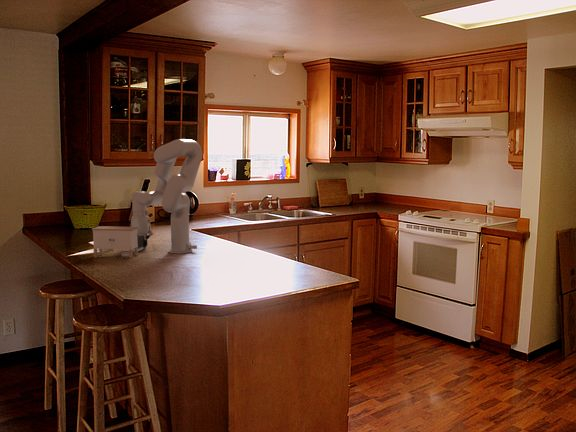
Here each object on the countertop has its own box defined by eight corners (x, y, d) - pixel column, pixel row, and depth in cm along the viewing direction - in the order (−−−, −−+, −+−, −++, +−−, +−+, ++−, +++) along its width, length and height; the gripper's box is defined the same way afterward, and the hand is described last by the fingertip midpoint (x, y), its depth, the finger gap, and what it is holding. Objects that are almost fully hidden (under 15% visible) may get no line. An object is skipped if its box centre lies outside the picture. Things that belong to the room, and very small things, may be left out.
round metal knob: (131, 256, 296) (131, 252, 295) (128, 257, 291) (128, 253, 291) (123, 255, 296) (123, 252, 296) (120, 257, 292) (119, 253, 292)
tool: (146, 247, 316) (145, 235, 315) (134, 253, 300) (133, 240, 299) (139, 247, 317) (138, 234, 316) (126, 253, 300) (126, 239, 299)
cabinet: (138, 255, 297) (138, 226, 295) (131, 258, 288) (131, 229, 286) (100, 254, 299) (99, 226, 298) (92, 257, 290) (91, 228, 288)
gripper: (157, 213, 315) (158, 246, 317) (127, 212, 317) (129, 245, 319) (152, 214, 308) (153, 248, 310) (122, 214, 309) (123, 247, 312)
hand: (141, 246), depth 314 cm, fingers closed on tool, 4 cm apart
